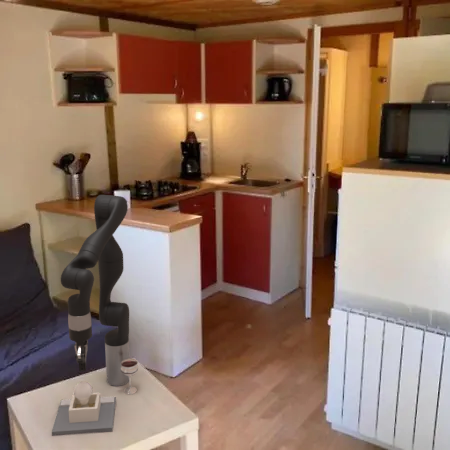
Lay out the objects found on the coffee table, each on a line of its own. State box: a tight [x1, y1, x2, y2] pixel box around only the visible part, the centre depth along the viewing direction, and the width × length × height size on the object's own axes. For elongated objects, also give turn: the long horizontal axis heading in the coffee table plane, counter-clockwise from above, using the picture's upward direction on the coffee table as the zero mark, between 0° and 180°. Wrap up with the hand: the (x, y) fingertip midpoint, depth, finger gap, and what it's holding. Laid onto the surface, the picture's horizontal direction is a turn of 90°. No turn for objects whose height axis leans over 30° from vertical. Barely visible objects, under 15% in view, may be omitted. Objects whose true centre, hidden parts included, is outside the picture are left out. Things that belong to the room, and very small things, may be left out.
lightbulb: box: [73, 380, 93, 408], centre depth 181 cm, size 6×6×11 cm
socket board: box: [51, 392, 117, 436], centre depth 183 cm, size 18×20×6 cm
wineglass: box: [120, 357, 139, 395], centre depth 198 cm, size 7×7×12 cm
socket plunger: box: [76, 403, 95, 408], centre depth 183 cm, size 7×7×2 cm
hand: (82, 370), depth 179 cm, fingers closed
